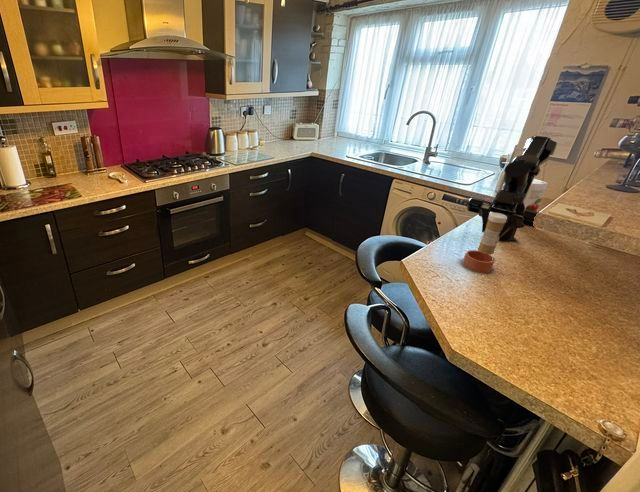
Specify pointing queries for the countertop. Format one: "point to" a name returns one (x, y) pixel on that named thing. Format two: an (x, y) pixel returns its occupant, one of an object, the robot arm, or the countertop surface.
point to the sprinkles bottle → (492, 233)
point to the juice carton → (535, 195)
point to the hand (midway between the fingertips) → (490, 234)
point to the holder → (478, 261)
